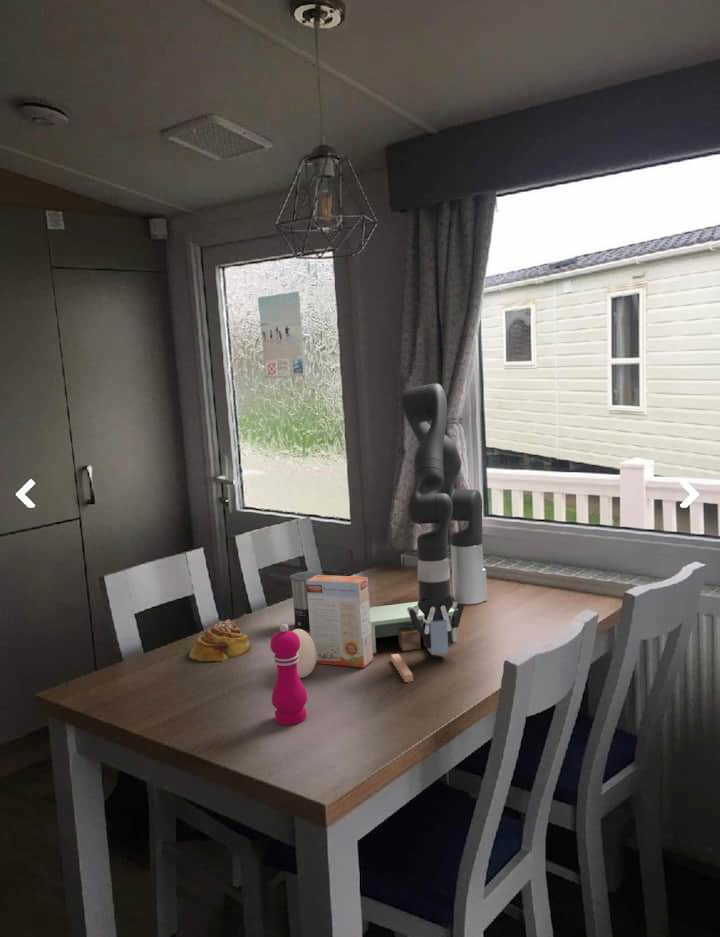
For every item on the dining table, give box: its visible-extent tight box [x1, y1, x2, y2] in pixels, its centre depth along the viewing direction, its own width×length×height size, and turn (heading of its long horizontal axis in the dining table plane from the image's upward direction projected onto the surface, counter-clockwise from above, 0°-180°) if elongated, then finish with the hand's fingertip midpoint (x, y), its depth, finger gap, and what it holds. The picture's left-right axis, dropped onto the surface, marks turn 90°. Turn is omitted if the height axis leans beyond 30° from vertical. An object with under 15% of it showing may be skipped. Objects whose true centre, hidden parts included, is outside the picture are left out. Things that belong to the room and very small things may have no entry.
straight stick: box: [390, 653, 414, 683], centre depth 185 cm, size 2×14×2 cm, turn 11°
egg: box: [291, 628, 317, 679], centre depth 185 cm, size 8×8×11 cm
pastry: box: [189, 619, 252, 662], centre depth 206 cm, size 13×15×8 cm
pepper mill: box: [270, 623, 308, 726], centre depth 162 cm, size 7×7×20 cm
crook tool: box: [402, 618, 449, 656], centre depth 197 cm, size 16×7×8 cm, turn 11°
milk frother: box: [289, 570, 324, 632], centre depth 224 cm, size 14×16×15 cm
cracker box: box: [306, 574, 374, 668], centre depth 193 cm, size 14×6×21 cm, turn 65°
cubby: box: [370, 601, 458, 654], centre depth 206 cm, size 22×12×8 cm, turn 102°
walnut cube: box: [397, 626, 422, 652], centre depth 201 cm, size 4×4×4 cm
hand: (437, 646), depth 192 cm, fingers closed on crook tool, 4 cm apart
